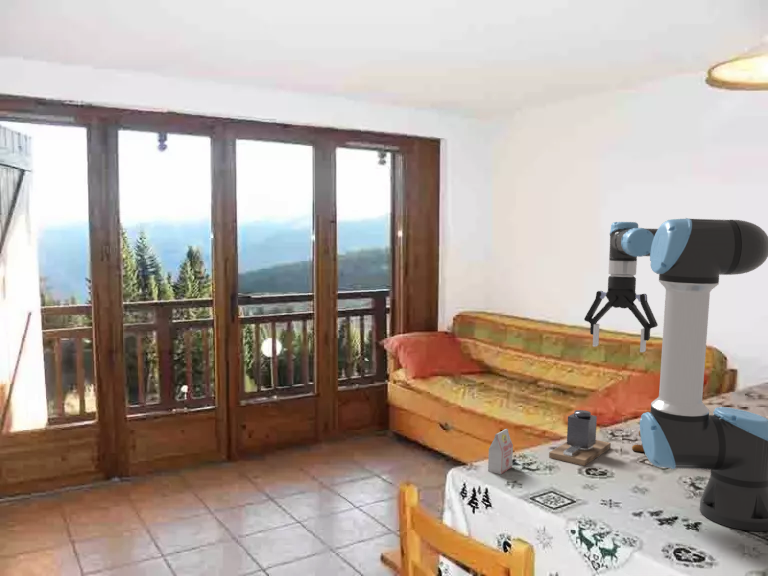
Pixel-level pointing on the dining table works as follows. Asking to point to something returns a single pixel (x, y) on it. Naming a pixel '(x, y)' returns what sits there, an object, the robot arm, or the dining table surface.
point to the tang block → (579, 452)
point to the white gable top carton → (500, 453)
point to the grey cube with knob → (581, 429)
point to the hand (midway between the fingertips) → (618, 348)
